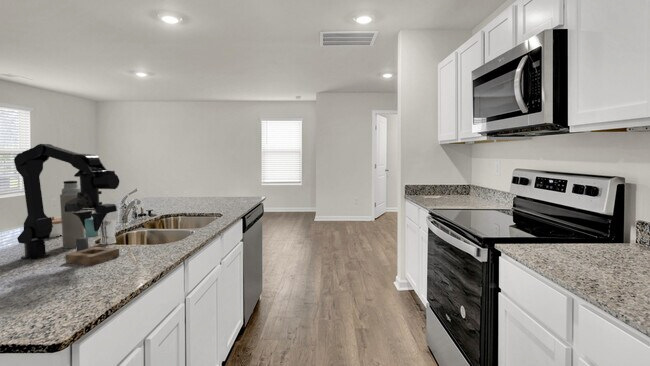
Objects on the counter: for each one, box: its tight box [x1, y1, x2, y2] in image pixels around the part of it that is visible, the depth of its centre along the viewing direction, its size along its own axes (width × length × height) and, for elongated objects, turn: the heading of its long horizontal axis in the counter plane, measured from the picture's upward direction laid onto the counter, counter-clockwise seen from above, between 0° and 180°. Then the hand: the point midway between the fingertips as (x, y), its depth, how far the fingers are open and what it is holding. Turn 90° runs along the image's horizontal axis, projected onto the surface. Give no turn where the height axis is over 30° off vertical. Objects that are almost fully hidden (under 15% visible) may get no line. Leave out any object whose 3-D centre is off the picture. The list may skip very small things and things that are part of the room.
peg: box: [84, 217, 99, 239], centre depth 140 cm, size 4×4×6 cm
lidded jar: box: [49, 216, 62, 238], centre depth 183 cm, size 11×11×9 cm
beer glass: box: [99, 211, 117, 245], centre depth 168 cm, size 7×7×15 cm
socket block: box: [65, 246, 120, 266], centre depth 141 cm, size 12×12×3 cm
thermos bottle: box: [59, 180, 86, 249], centre depth 162 cm, size 8×8×28 cm
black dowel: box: [75, 236, 90, 252], centre depth 150 cm, size 4×4×6 cm
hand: (91, 231), depth 140 cm, fingers closed on peg, 4 cm apart
